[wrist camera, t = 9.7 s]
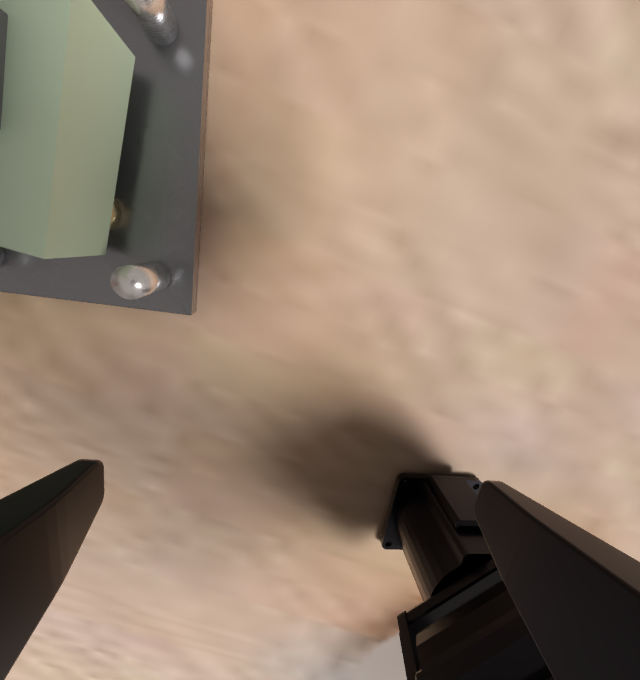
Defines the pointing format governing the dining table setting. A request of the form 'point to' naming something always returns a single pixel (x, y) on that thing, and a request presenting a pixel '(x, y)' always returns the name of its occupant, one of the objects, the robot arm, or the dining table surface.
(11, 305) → the dining table surface
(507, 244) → the dining table surface
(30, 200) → the pale green block
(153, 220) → the chassis
